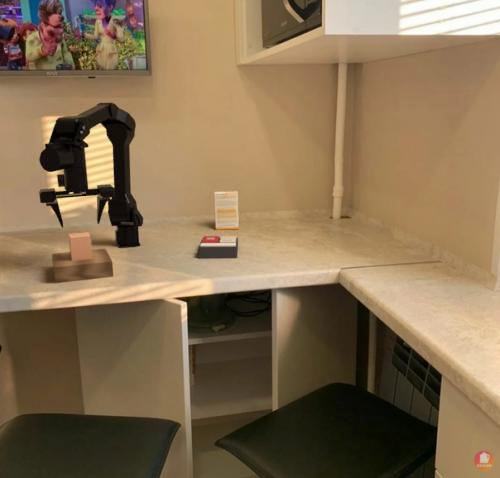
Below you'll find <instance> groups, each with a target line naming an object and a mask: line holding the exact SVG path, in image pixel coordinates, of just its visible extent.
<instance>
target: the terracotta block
mask: <svg viewBox="0 0 500 478" xmlns="http://www.w3.org/2000/svg"><path fill="white" fill-rule="evenodd" d="M68 243H69V252H70V254H71V259H72V261H76V260H85V259H92V250H93V248H92V240H91V234H90V232H88V231H85V232H74V233H68Z"/></svg>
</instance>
